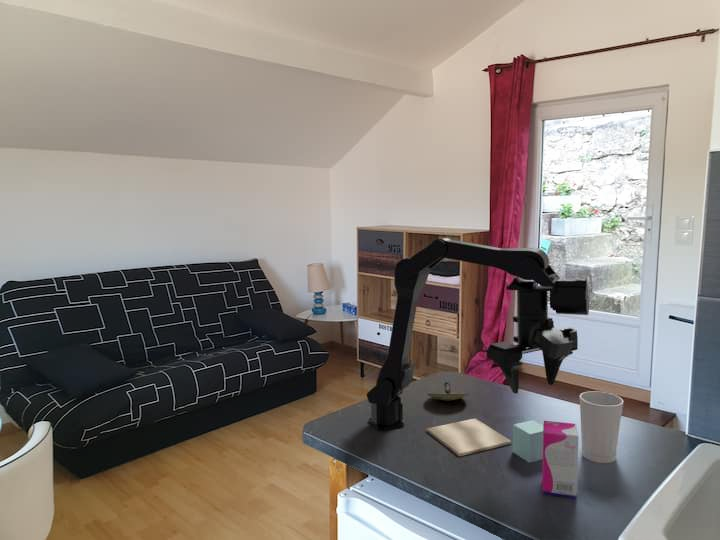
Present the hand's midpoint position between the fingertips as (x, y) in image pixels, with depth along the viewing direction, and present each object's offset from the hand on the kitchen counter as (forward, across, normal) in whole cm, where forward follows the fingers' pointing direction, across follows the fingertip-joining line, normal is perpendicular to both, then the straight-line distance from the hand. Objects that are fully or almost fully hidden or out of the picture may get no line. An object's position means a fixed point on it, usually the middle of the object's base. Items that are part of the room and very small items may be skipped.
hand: (533, 388), depth 107 cm
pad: (+13, -8, +12) cm, 19 cm away
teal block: (+14, -1, 0) cm, 14 cm away
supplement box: (+14, -5, -12) cm, 19 cm away
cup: (+14, +11, -6) cm, 19 cm away
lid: (+13, 0, +31) cm, 34 cm away
